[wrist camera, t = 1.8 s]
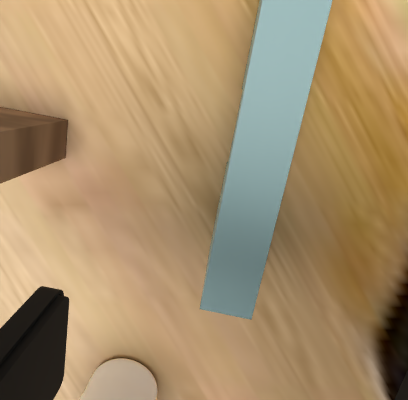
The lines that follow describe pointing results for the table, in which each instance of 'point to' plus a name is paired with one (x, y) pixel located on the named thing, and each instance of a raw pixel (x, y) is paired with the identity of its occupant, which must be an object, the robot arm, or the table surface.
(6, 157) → the slotted stand
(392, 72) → the table surface
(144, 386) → the drinking glass
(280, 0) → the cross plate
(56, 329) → the robot arm
